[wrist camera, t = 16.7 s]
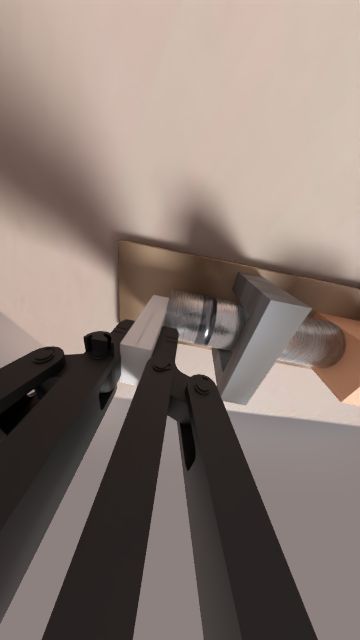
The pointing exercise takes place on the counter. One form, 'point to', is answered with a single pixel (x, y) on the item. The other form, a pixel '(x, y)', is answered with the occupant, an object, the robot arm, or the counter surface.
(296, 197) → the counter surface
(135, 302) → the rail
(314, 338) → the shaft
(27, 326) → the counter surface
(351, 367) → the block
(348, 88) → the counter surface
